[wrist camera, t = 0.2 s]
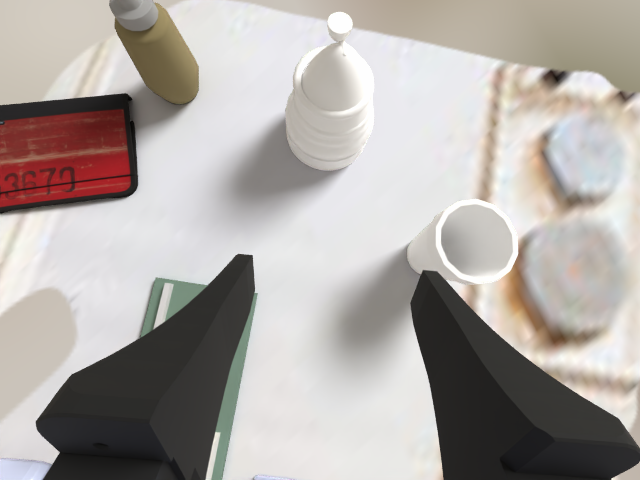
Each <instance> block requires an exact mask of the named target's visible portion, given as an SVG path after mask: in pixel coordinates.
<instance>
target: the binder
mask: <svg viewBox="0 0 640 480" xmlns="http://www.w3.org/2000/svg"><path fill="white" fill-rule="evenodd" d="M131 100H132V98H131V97H130V96H129V95H128V94H126V93H125V94H114V95H104V96H95V97H84V98H73V99H64V100H52V101H42V102H31V103H22V104H10V105H0V213H4V212H7V211H11V210H18V209H25V208H33V207H40V206H48V205H58V204H64V203H73V202H80V201H88V200H96V199H104V198H122V197H127V196H130V195H132V194H133V193H134V192H135V191H136V189H137V186H138V175H137V156H136V139H135V127H134V122H133V121H130V116H129V106H128V101H131Z"/></svg>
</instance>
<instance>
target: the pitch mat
mask: <svg viewBox="0 0 640 480" xmlns="http://www.w3.org/2000/svg"><path fill="white" fill-rule="evenodd" d="M206 287H207V285H201V284H194V283H188V282H181V281H175V280H169V279H162V278H156V279H155V283H154V286H153V290H152V294H151V298H150V302H149V306H148V310H147V314H146V318H145V321H144V325H143V329H142V333H141V337H143V336H144V335H146V334H147V333H149V332H150V331H152V330H153V329H155V328H156V327H158V326H159V325H160V324H162V323H163V322H165V321H166V320H167V319H169V318H170V317H171V316H173V315H174V314H175V313H177V312H178V311H179V310H180V309H182V308H183V307H184V306H185V305H187V304H188V303H189V302H190V301H191V300H192V299H193V298H195V297H196V296H197V295H198V294H199V293H200V292H201V291H202V290H203V289H204V288H206ZM257 294H258V293H254V297H253V302H252V306H251V310H250V314H249V316H248V319H247V322H246V325H245V328H244V331H243V333H242V336H241V339H240V342H239V345H238V347H237V350H236V353H235V356H234V359H233V362H232V365H231V368H230V372H229V376H228V380H227V384H226V388H225V392H224V396H223V401H222V405H221V409H220V413H219V418H218V422H217V427H216V431H215V432H219V433H220V438H219V443H218V448H217V453H216V458H215V463H214V468H213V473H212V478H211V480H222V477H223V471H224V466H225V461H226V456H227V451H228V445H229V440H230V435H231V430H232V424H233V419H234V414H235V409H236V404H237V398H238V393H239V388H240V383H241V377H242V372H243V367H244V362H245V357H246V351H247V346H248V341H249V336H250V330H251V325H252V320H253V315H254V310H255V304H256V299H257ZM141 337H140V338H141Z"/></svg>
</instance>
